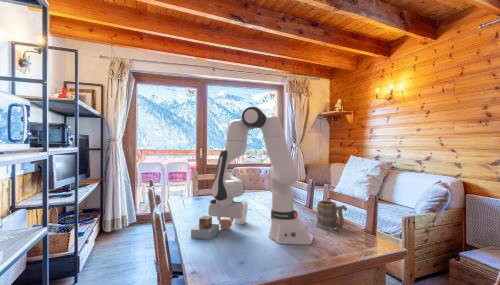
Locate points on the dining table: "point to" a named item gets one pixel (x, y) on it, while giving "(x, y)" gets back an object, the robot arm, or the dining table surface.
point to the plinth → (205, 232)
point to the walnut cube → (205, 222)
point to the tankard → (329, 215)
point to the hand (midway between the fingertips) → (225, 224)
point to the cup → (243, 219)
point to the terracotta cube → (225, 223)
